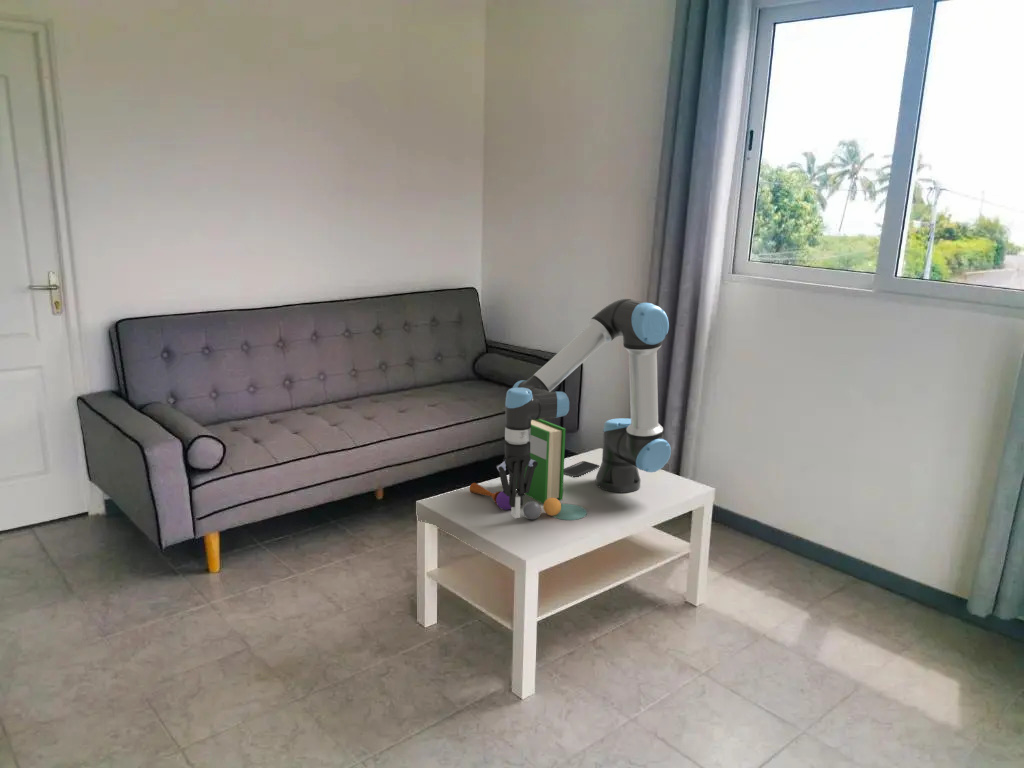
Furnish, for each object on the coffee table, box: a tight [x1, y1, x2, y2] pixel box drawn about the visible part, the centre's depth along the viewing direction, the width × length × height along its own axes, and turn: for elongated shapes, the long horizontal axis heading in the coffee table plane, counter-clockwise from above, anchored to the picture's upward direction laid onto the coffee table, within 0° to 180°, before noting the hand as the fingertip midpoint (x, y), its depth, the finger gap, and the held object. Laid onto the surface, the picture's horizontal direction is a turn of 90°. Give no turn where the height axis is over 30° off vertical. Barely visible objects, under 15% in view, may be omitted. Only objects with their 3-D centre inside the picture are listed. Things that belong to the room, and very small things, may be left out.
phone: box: [564, 460, 601, 478], centre depth 270 cm, size 8×1×15 cm
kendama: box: [469, 482, 512, 511], centre depth 240 cm, size 6×6×20 cm
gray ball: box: [522, 500, 542, 520], centre depth 227 cm, size 6×6×6 cm
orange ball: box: [542, 498, 562, 517], centre depth 230 cm, size 6×6×6 cm
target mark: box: [552, 503, 588, 521], centre depth 233 cm, size 12×12×1 cm
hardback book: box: [516, 419, 567, 504], centre depth 245 cm, size 18×7×24 cm, turn 36°
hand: (515, 515), depth 225 cm, fingers closed
